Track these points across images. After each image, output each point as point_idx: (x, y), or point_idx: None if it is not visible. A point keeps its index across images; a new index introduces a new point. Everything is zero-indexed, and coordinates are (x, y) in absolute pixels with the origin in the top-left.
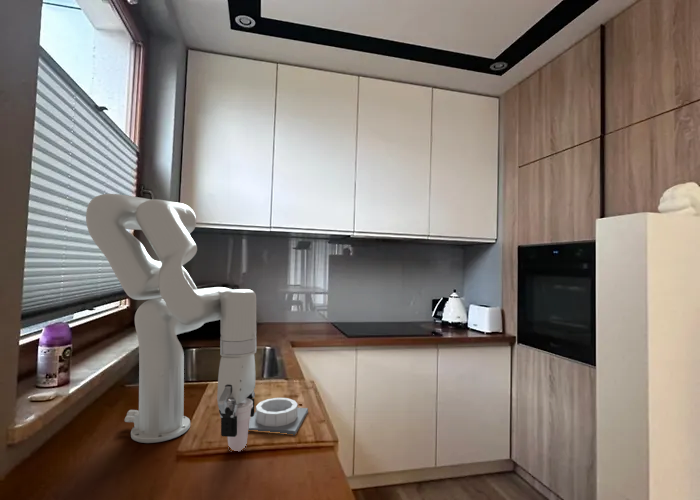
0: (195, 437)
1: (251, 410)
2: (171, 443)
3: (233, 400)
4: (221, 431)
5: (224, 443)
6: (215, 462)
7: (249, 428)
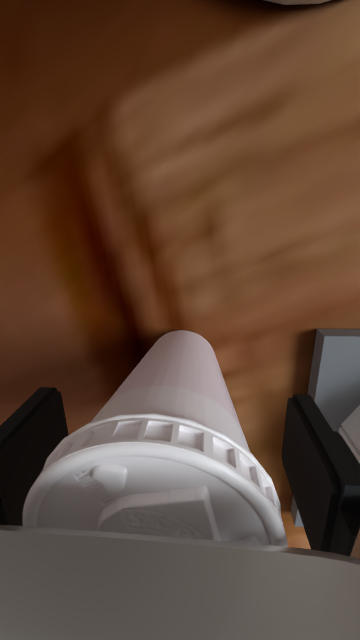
0: (248, 119)
1: (291, 483)
2: (168, 7)
3: (178, 521)
4: (29, 399)
5: (206, 298)
6: (71, 326)
7: (318, 370)
